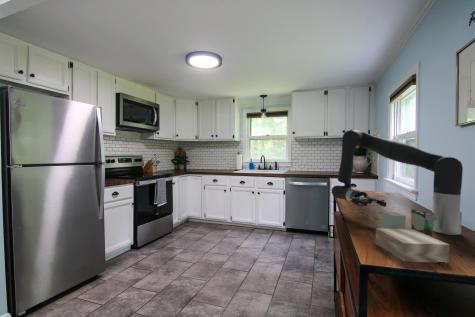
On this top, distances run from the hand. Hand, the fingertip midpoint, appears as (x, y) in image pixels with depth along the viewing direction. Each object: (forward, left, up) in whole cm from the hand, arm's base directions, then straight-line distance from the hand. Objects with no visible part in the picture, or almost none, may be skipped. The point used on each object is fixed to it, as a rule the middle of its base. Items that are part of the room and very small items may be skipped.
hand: (376, 204), depth 109 cm
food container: (-16, +8, -11) cm, 21 cm away
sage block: (0, +11, -11) cm, 16 cm away
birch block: (+5, +26, -11) cm, 29 cm away
